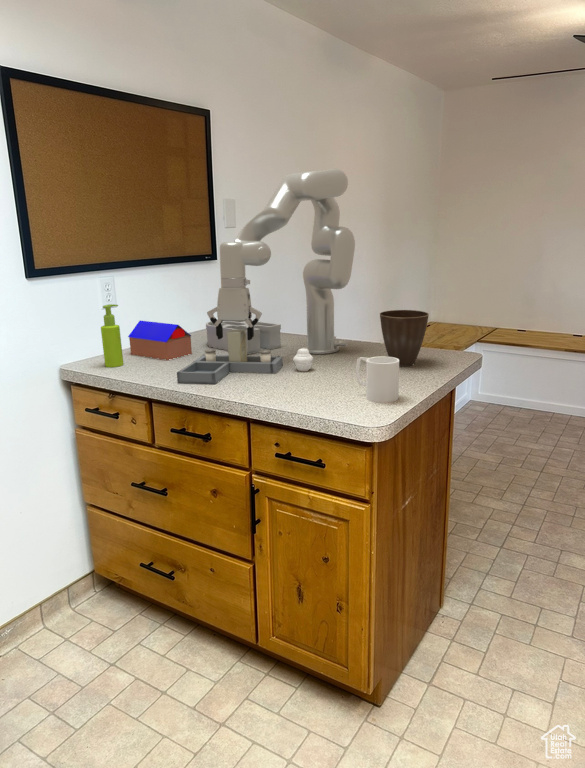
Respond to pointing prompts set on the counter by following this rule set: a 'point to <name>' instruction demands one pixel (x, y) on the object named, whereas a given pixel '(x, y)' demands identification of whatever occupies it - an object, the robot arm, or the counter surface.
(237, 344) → the skincare box
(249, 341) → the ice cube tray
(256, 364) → the grey rectangular frame
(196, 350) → the counter surface
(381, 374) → the cup
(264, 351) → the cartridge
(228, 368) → the tray
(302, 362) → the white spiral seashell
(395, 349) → the plant pot
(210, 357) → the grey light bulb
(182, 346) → the house
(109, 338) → the soap dispenser
